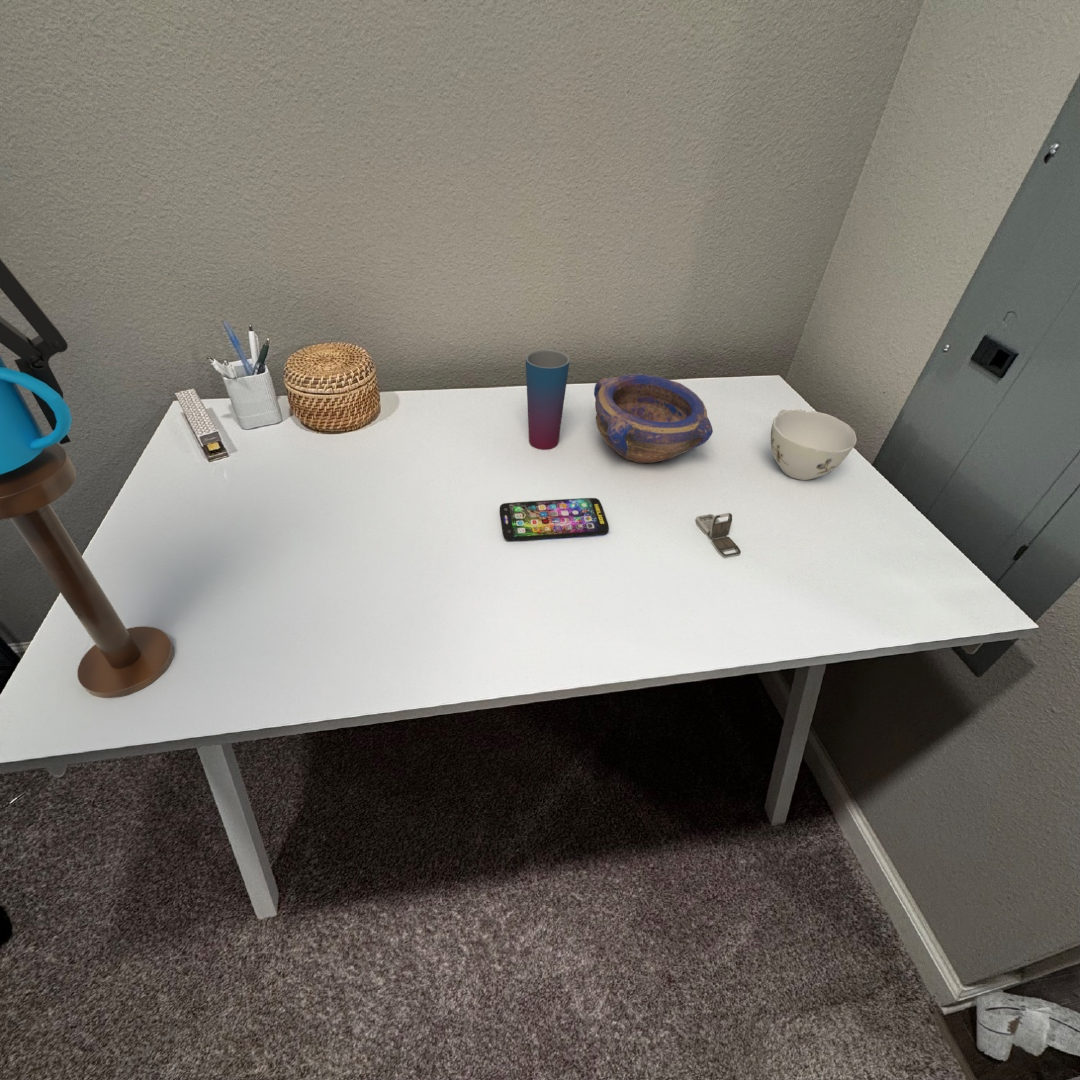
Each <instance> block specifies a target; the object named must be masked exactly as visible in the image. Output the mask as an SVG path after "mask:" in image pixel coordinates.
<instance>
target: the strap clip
mask: <svg viewBox="0 0 1080 1080" xmlns="http://www.w3.org/2000/svg"><path fill="white" fill-rule="evenodd" d="M726 517H727V520H722V521H721V520H720V519H719V518H726ZM695 523H696V525H697V527H698V528H699V530H701V531H702V533H703V534H704V535H705V536H707V537H710V538H711V544H712V546H713V547H714V549H715V550H716V552H717V553H718V554H719V555H720V556H721V557H723V558H729V557H735V556H739V555H741V553H742V551H741V549H740V547H739V546H738V545H737V543H735V541H734V540H733V539H732V538H731V537H730V536H728V535H729V534H730V530H731V527H732V523H733V514H732V513H731V512H727V513H721V514H715V515H714V514H712V513H709V514H704V515H698V516H696V517H695ZM733 550H735V552H731V553H725V552H729V551H733Z"/></svg>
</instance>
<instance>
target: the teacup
mask: <svg viewBox="0 0 1080 1080" xmlns="http://www.w3.org/2000/svg"><path fill="white" fill-rule="evenodd" d="M857 439H858V438H857V436H856V432H855V430H854V429H853V428H852V427H851V426H850V425H849V424H847V423H846V422H844V421H842V420H840V419H839V418H838V417H835V416H832V415H831V414H827V413H824V412H820V411H816V410H810V411H806V410H804V409H799V408H798V409H781V410H780V411H779V412H778V414H777V415H776V416H775V417H774V418H773V419H772V424H771V428H770V449H771V452H772V455H773V458H774V459H775V461H776V463H777V464H778V466H779V467H780V469H781V471H782V472H783V473H784V474H785V475H787V476H788V477H790V478H792V479H795V480H802V481H809V480H813V479H816V478H818V477H820V476H823V475H826V474H828V473H829V472H831V471H833V470H834V469H836V468H837V467H838V466H839V465H840V464H842V462H843V461H844V460H845V459H846V458H847V457H848V455H850V453H851V451H852V450H853V448H854V447H855V446H856V445H857Z"/></svg>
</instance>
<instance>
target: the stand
mask: <svg viewBox="0 0 1080 1080" xmlns="http://www.w3.org/2000/svg"><path fill="white" fill-rule="evenodd" d="M76 478H77V471H76V468H75V466H74V464H73V462H72V460H71V459H70V456H69V455H68V453H67V451H66V450H65V448H64V447H63V446H61V444H58V443H56V444H53V445H51V446H49V447H46V448H44V449H43V450H42V452H41V453H40V454H39V455H37V456H36V457H35V458H34V459H32V460H31V461H30V462H28V463H26V464H24V465H22V466H20V467H18V468H16V469H15V470H12V471H9V472H6V473H3V474H1V475H0V521H3V520H8V519H10V521H11V522H12V524H13V525H14V527H15V528H16V529H17V531H18V532H19V534H20V535H21V537H22V538H23V540H24V541H25V543H26V544H27V546H28V547H29V549H30V550H31V551H32V553H33V554H34V556H35V557H36V559H37V560H38V562H39V563H40V565H41V566H42V568H43V569H44V570H45V572H46V573H47V575H48V577H49V578H50V579H51V581H52V582H53V584H54V586H55V587H56V588H57V590H58V591H59V593H60V594H61V596H62V597H63V598H64V600H65V602H66V603H67V604H68V606H69V608H70V609H71V611H72V612H73V613H74V615H75V616H76V617H77V619H78V621H79V622H80V624H81V625H82V626H83V628H84V629H85V631H86V632H87V634H88V636H89V637H90V638H91V639H92V641H93V643H94V645H93V646H91V647H90V648H89V649H88V651H87V652H86V653H85V654H84V655H83V657H82V658H81V660H80V662H79V664H78V667H77V679H78V682H79V684H80V685H81V686H82V687H83V689H84V690H85V691H86V692H87V693H88V694H90V695H92V696H94V697H97V698H104V699H111V698H113V699H115V698H121V697H125V696H128V695H132V694H134V693H136V692H140V691H141V690H143V689H145V688H146V687H148V686H150V685H151V684H153V683H154V682H156V681H157V680H159V678H160V677H161V676H162V675H163V674H164V673H165V672H166V671H167V669H168V668H169V666H170V665H171V663H172V660H173V657H174V646H173V643H172V641H171V639H170V637H169V636H168V634H166V632H164V631H163V630H161V629H159V628H157V627H154V626H143V625H142V626H133V627H132V626H131V627H128V628H127V627H126V625H125V624H124V623H123V621H122V619H121V618H120V616H119V614H118V613H117V611H116V609H115V608H114V606H113V605H112V603H111V602H110V601H111V600H109V597H108V596H107V595H106V593H105V592H104V589H102V587H101V585H100V584H99V581H98V580H97V579H96V577H95V575H94V574H93V572H92V570H91V569H90V567H89V565H88V564H87V562H86V560H85V558H83V556H82V554H81V553H80V551H79V549H78V548H77V546H76V544H75V543H74V541H73V540H72V538H71V536H70V535H69V533H68V531H67V530H66V528H65V527H64V525H63V523H62V522H61V520H60V518H59V517H58V515H57V514H56V512H55V510H54V509H53V507H52V505H51V504H52V503H53V502H55V501H56V500H58V499H59V498H61V497H62V496H64V494H66V493H67V492H68V491H69V490H70V489H71V487H72V486H73V485H74V483H75V482H76V480H77V479H76Z"/></svg>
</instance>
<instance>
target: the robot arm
mask: <svg viewBox="0 0 1080 1080" xmlns="http://www.w3.org/2000/svg"><path fill="white" fill-rule="evenodd" d="M0 291H2V292H3V294H4V295H5V296H6V297H7V298H8V299H9V301H10V302H11V303H12V304H13V306H14V307H15V308H16V309H17V310H18V312H19V313H20V314H21V315H22V316H23V318H25V319H24V320H26V322H28V323H29V325H30V326H31V327H32V328H33V330H34V331H35V332H36V333H37V336H35V337H34V338H32V339H31V338H29V336H27V335H26V334H24V333H23V332H22V331H20V330H19V329H18V328H16V327H15V326H14V325H13V324H11V323H10V322H9V321H7V320H6V318H4V317H2V316H1V315H0V344H1V345H3V346H4V347H5V348H7V349H8V350H9V351H10V352H12V353H13V354H15V355H16V356H18V357H19V358H18V359H17V358H16V359H14V363H15V365H16V366H17V368H18V370H19V372H22V373H26V374H28V375H30V376H32V377H34V378H36V379H38V380H40V381H42V382H44V383H45V384H47V385H48V386H49V387H51V388H52V389H53V390H54V391H56V392H57V393H58V394H59V395H60V396H61V397H62V399H63V400H64V392H63V390H62V388H61V386H60V384H59V382H58V380H57V378H56V376H55V374H54V373H53V371H52V369H51V367H50V363H49V361H50V359H51V358H52V357H53V356H54V355H57V354H58V353H65V351H67V349H68V348H69V346H68V345H69V344H68V342H67V340H66V338H64V336H63V334H62V333H61V332H60V331H59V329H58V328H57V327H56V325H55V324H54V323H53V322H52V321H51V319H50V318H49V317H48V315H47V314H46V313H45V312H44V311H43V309H42V308H41V307H40V306H39V304H38V303H37V302H36V301H35V299H34V298H33V297H32V295H31V294H30V293H29V292H28V291H27V289H26V288H25V287H24V286H23V284H22V283H21V282H20V281H19V279H18V278H17V277H16V276H15V274H14V273H13V272H12V271H11V270H10V268H9V267H8V265H7V264H6V263H5V262H4V261H3V259H2V258H1V257H0ZM30 392H31V395H32V396H33V398H34V399H35V401H36V403H37V404H38V406H39V409H40V410H41V412H42V413H43V414H42V415H44V417H45V419H46V421H47V423H48V425H49V427H50V428H51V430H52V432H53V431H54V430H55V428H56V423H57V420H56V417H55V413H54V411H53V410H52V409H51V407H50V406H49V405H48V404H47V402H46V401H44V400H43V399H42V398H40V397H39V396H38V395H37V394H35V393H34V392H32V391H30ZM70 442H71V439H70V437H69V435H68V434H67V435H66V436H65V437H64V438H63V439H62V440H61V441H60V442H59V445H65V444H67V443H68V444H69V443H70Z"/></svg>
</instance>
